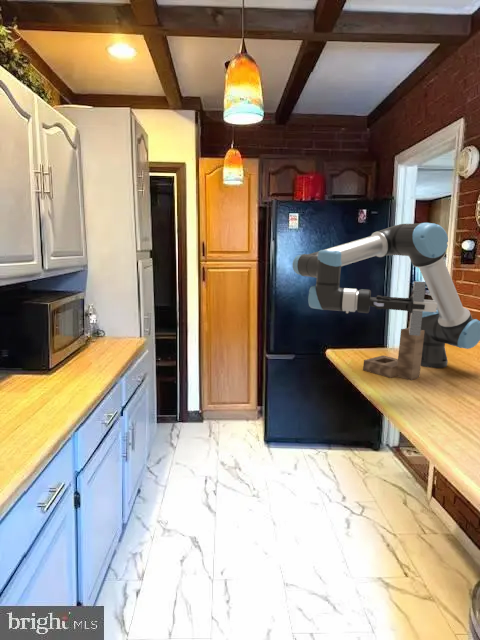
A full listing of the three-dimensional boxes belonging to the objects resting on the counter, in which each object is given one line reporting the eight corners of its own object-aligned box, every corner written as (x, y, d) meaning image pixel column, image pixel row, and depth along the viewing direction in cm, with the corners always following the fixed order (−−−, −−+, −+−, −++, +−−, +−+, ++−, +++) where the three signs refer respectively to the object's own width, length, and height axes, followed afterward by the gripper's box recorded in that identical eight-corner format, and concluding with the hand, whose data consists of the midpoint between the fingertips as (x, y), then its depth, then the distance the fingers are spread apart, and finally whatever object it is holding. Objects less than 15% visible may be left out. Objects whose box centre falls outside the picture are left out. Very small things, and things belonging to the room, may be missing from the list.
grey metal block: (408, 334, 135) (413, 282, 132) (407, 331, 141) (412, 281, 138) (421, 335, 134) (426, 283, 131) (419, 332, 140) (425, 281, 137)
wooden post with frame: (362, 370, 172) (367, 324, 169) (382, 364, 181) (386, 321, 178) (405, 382, 158) (411, 333, 155) (424, 375, 167) (429, 329, 164)
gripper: (358, 308, 151) (431, 313, 144) (354, 316, 133) (437, 323, 126) (360, 286, 150) (434, 291, 142) (356, 291, 132) (440, 297, 125)
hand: (435, 306), depth 134 cm, fingers closed on grey metal block, 6 cm apart
